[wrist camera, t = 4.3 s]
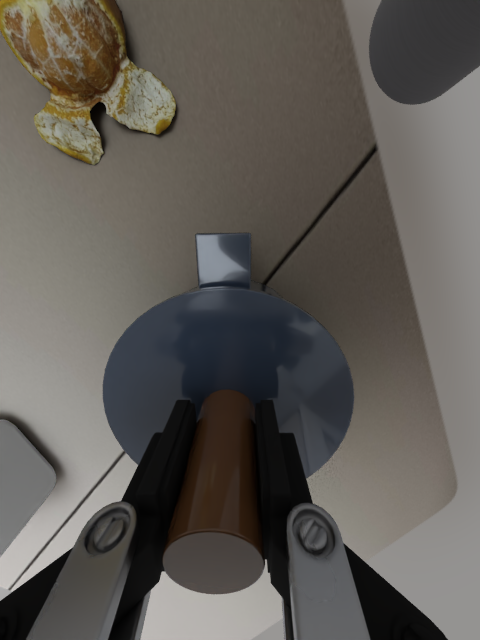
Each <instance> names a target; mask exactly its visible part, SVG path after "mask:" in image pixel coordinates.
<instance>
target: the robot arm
mask: <svg viewBox="0 0 480 640" xmlns="http://www.w3.org/2000/svg"><path fill="white" fill-rule="evenodd" d="M196 424H197V420H196V409H195V403H191V401H190V400H177V401H176V403H175V405H174V408H173V410H172V412H171V414H170V417H169V419H168V421H167V424H166V426H165V428H164V430H163V432H156V433H154V435H153V436H152V438H151V440H150V442H149V444H148V446H147V448H146V451H145V453H144V455H143V457H142V459H141V461H140V463H139V465H138V467H137V469H136V471H135V473H134V475H133V478H132V480H131V482H130V484H129V486H128V488H127V490H126V492H125V494H124V496H123V498H122V500H121V501H119V502H115V503H111V504H109V505H107V506H105V507H103V508H102V509H101V510H99V511H98V512H97V513H95V514H94V515H93V516H92V518H91V519H90V520H89V521H88V522H87V524H86V525H85V527H84V528H83V530H82V531H81V533H80V535H79V537H78V539H77V541H76V543H75V545H74V547H73V548H72V549H70V550H69V551H68V552H66V553H65V554H63V555H62V556H61V557H59V558H58V559H57V560H55V561H54V562H53V563H51V564H50V565H49V566H47V567H46V568H44V569H43V570H42V571H40V572H39V573H38V574H36V575H35V576H34V577H32V578H31V579H30V580H28V581H27V582H25V583H24V584H23V585H21V586H20V587H19V588H17V589H16V590H15V591H13V592H12V593H11V594H9V595H8V596H6V597H5V598H4V599H2V600H1V601H0V640H140V638H141V633H142V629H143V624H144V620H145V615H146V611H147V607H148V602H149V598H150V592H151V589H152V588H153V587H154V586H155V585H156V584H157V583H158V582H159V580H160V576H161V572H162V571H165V570H164V568H163V565H162V552H163V548H164V545H165V541H166V537H167V533H168V529H169V526H170V522H171V518H172V514H173V511H174V507H175V503H176V499H177V496H178V492H179V488H180V484H181V481H182V477H183V473H184V469H185V465H186V462H187V458H188V454H189V450H190V447H191V443H192V439H193V435H194V432H195V428H196ZM255 426H256V441H257V456H258V472H259V487H260V502H261V517H262V527H263V542H264V556H265V559H267V565H268V573H270V577H271V584H272V585H273V586H274V587H275V589H276V590H277V591H278V593H279V594H280V595H281V596H282V611H283V627H284V640H448V639H447V638H446V637H445V635H444V634H443V633H442V631H440V630H439V628H438V627H437V626H436V625H435V624H434V623H433V622H432V621H431V620H430V619H429V618H428V617H427V616H425V615H424V614H423V613H422V612H421V611H420V610H419V609H417V608H416V607H415V606H414V605H413V604H412V603H411V602H410V601H408V600H407V599H406V598H405V597H404V596H403V595H402V594H401V593H399V592H398V591H397V590H396V589H395V588H394V587H392V586H391V585H390V584H389V583H388V582H387V581H386V580H385V579H384V578H382V577H381V576H380V575H379V574H377V573H376V572H375V571H374V570H373V569H372V568H371V567H370V566H369V565H368V564H366V563H365V562H364V561H363V560H362V559H361V558H360V557H359V556H357V555H356V554H355V553H354V552H353V551H352V550H351V549H350V548H348V547H347V546H346V545H345V544H344V543H343V541H342V537H341V534H340V531H339V529H338V526H337V524H336V522H335V521H334V520H333V518H332V517H331V515H330V514H328V513H327V512H326V511H325V510H324V509H323V508H321V507H319V506H317V505H315V504H313V503H312V499H311V495H310V492H309V488H308V484H307V480H306V477H305V473H304V469H303V465H302V462H301V458H300V454H299V451H298V447H297V443H296V439H295V436H294V434H293V433H279V428H278V423H277V418H276V413H275V407H274V402H273V400H260V403H256V416H255Z"/></svg>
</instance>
